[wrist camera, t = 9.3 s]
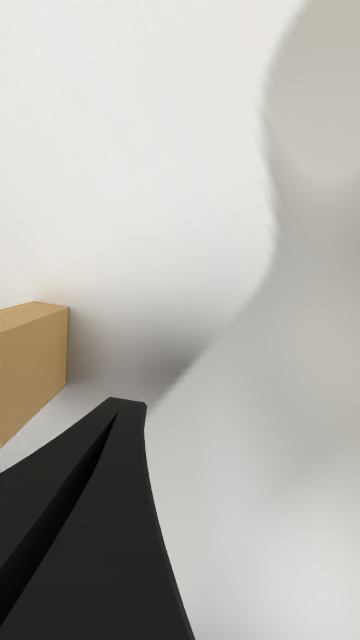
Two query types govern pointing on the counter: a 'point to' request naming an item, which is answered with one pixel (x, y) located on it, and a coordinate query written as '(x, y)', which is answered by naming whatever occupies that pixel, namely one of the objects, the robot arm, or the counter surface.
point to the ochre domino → (30, 362)
